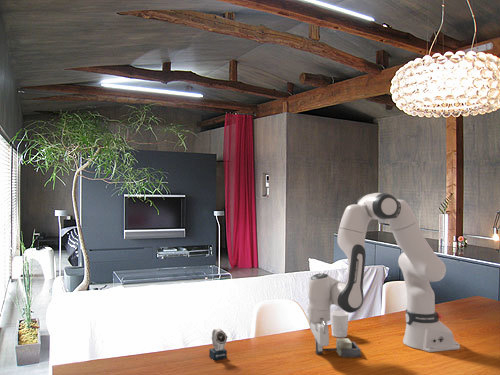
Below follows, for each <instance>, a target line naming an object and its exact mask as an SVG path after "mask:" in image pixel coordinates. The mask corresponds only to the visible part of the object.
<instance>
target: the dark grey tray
mask: <svg viewBox="0 0 500 375" xmlns="http://www.w3.org/2000/svg"><path fill="white" fill-rule="evenodd" d="M351 342H352V349H341V358H361V354H362V353H361V351H362V350H361V348H360V346H358V344H357V343H356V341H351Z"/></svg>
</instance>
